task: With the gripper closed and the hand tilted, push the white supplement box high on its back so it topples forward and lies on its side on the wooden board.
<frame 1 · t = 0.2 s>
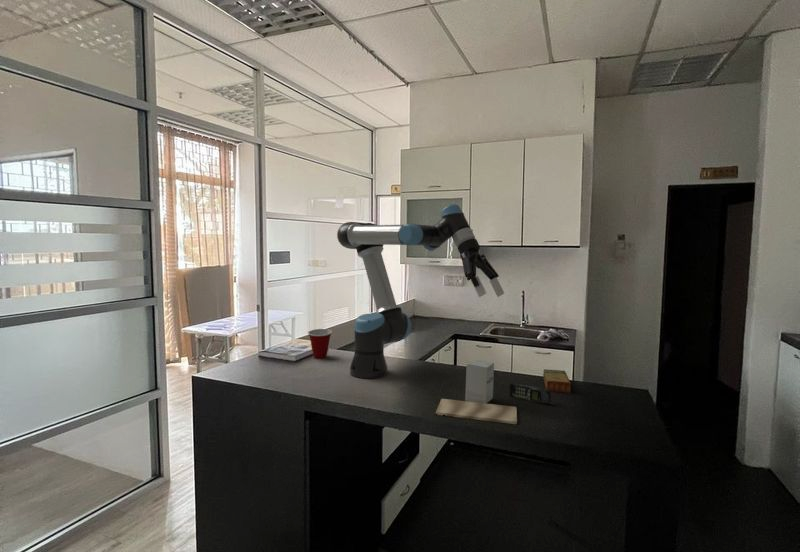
hand: (492, 295, 145), 35 cm above the countertop, tool tilted 35°, fingers open, 13 cm apart
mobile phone: (531, 401, 143), on the countertop
supplement box: (479, 400, 142), on the countertop
wooden board: (476, 411, 131), on the countertop
plastic cup: (319, 357, 192), on the countertop
carton: (555, 386, 160), on the countertop
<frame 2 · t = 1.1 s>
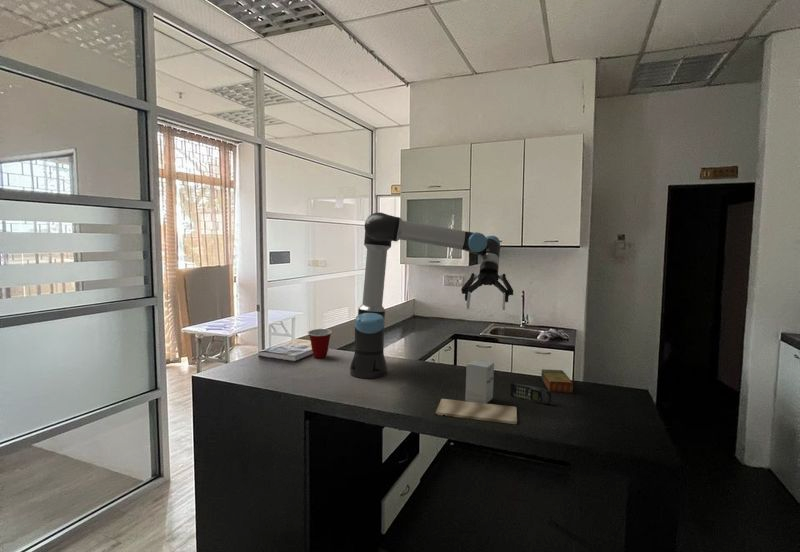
hand: (485, 307, 162), 28 cm above the countertop, tool tilted 45°, fingers open, 13 cm apart
nothing on the countertop moved.
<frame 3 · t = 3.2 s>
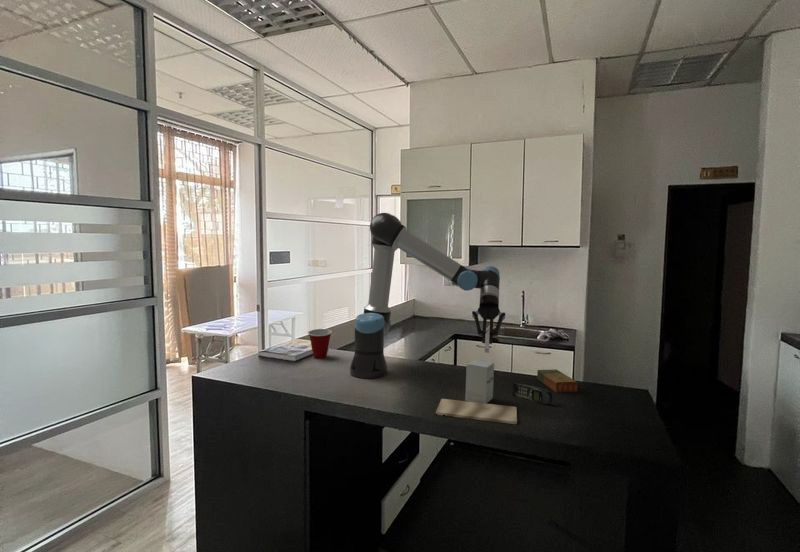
hand: (486, 350, 154), 14 cm above the countertop, tool tilted 45°, fingers closed
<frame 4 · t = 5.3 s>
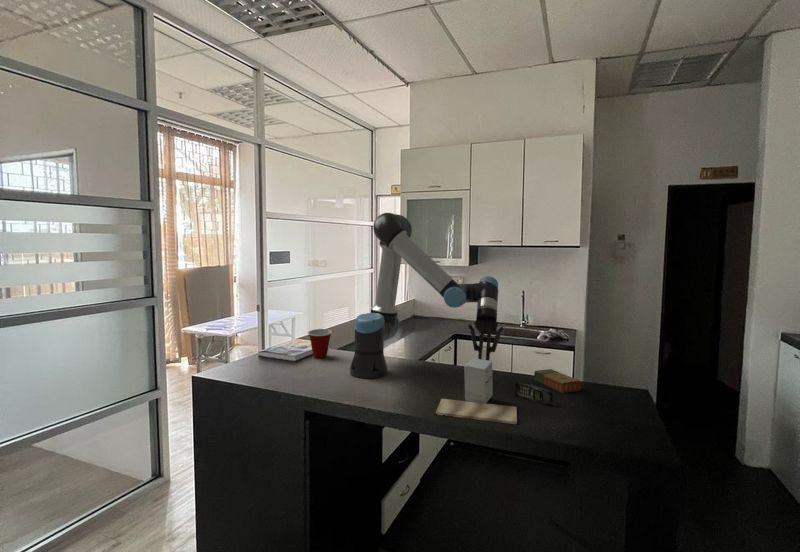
hand: (483, 368, 144), 10 cm above the countertop, tool tilted 45°, fingers closed
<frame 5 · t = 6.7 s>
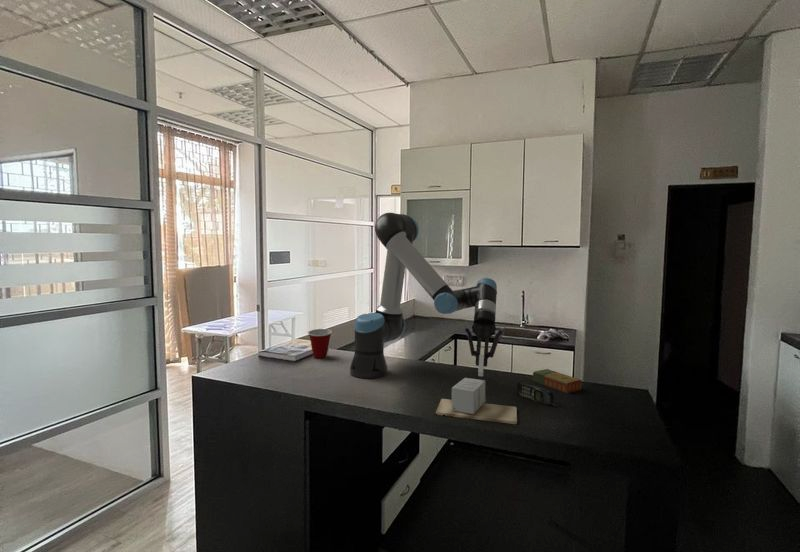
hand: (480, 374, 137), 10 cm above the countertop, tool tilted 45°, fingers closed
supplement box: (475, 389, 139), point 5 cm above the countertop, touching wooden board
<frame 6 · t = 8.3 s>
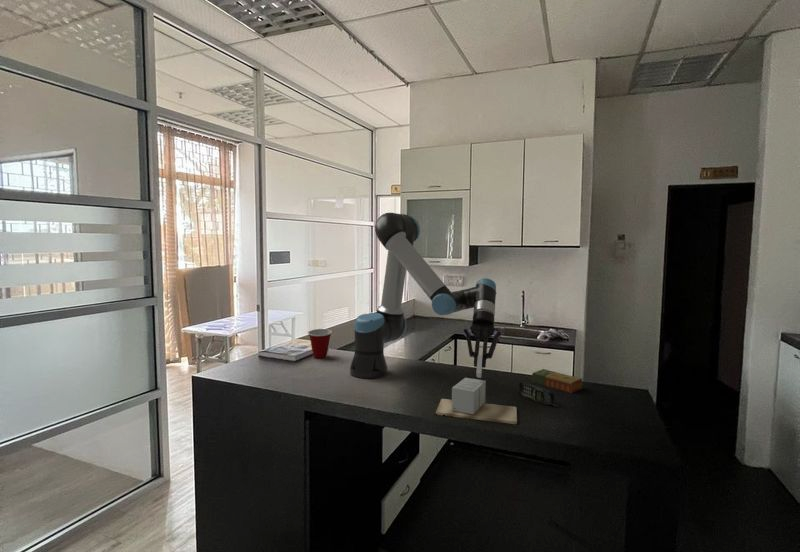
hand: (478, 375, 135), 10 cm above the countertop, tool tilted 45°, fingers closed
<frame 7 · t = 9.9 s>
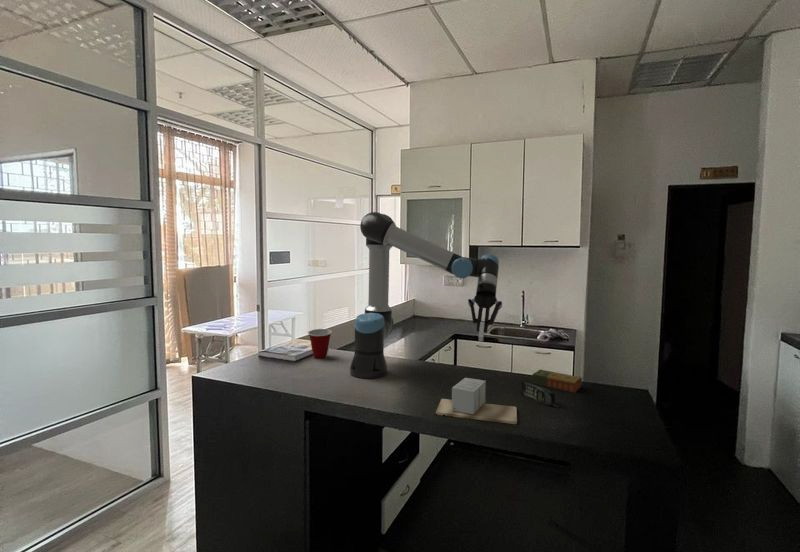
hand: (480, 338, 150), 19 cm above the countertop, tool tilted 45°, fingers closed
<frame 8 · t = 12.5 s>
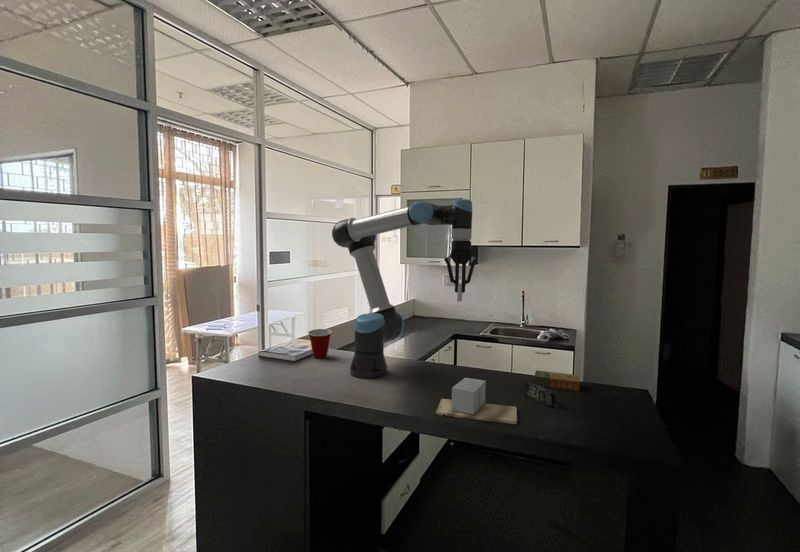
hand: (459, 301, 164), 30 cm above the countertop, tool pointing down, fingers closed
at the end: supplement box tilted 90°; supplement box touching wooden board; the gripper is holding nothing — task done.
